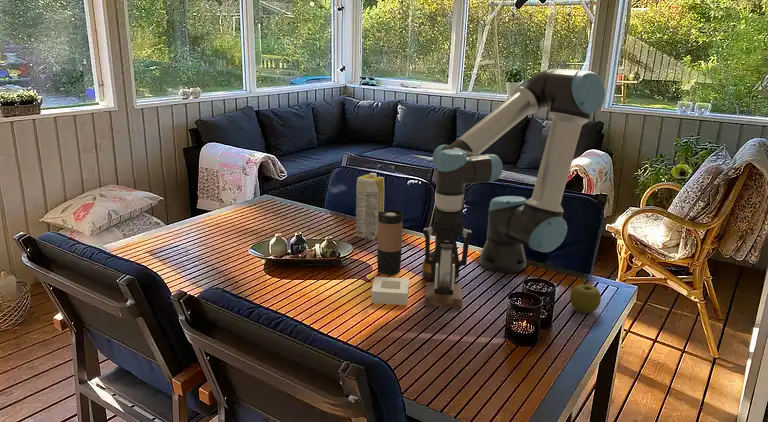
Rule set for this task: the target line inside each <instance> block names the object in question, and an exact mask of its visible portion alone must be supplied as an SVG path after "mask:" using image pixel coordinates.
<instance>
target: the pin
mask: <svg viewBox="0 0 768 422" xmlns="http://www.w3.org/2000/svg"><path fill="white" fill-rule="evenodd" d="M439 247H441V248H440V252H439V259H438V281H437V294H445V295H451V281H452V266H453V256H454V254H453V248H454V245H453V244H452V241H443V242H442V243H441V244H439Z"/></svg>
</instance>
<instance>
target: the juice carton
mask: <svg viewBox="0 0 768 422" xmlns="http://www.w3.org/2000/svg"><path fill="white" fill-rule="evenodd" d="M355 191H356V194H355V195H356V196H355V197H356V198H355V200H356V202H355V205H356V206H355V207H356V209H355V212H356V213H355V228H356V229H355V231H356V233H355V234H356V237H358V238H362V239H366V240H370V241H375V240H378V214H379V211H382V212H385V177H383V176H377V173H376V172H375V173H374V172H370V173H369V174H364V175H360V176H359V177H357V178H356V190H355Z"/></svg>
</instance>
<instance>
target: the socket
mask: <svg viewBox="0 0 768 422" xmlns="http://www.w3.org/2000/svg"><path fill="white" fill-rule="evenodd" d="M373 279H374V280H373V283H372V287H371V290H370V291H371V292H370V303H371V304H379V305H381V304H384V305H394V306H395V305H396V306H397V305H398V306H399V305H400V306H408V299H409V292H410V278H406V277H405V278H404V277H403V278H402V277H390V276H389V277H388V276H374V278H373Z"/></svg>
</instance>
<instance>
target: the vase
mask: <svg viewBox="0 0 768 422" xmlns="http://www.w3.org/2000/svg"><path fill="white" fill-rule="evenodd" d="M434 238H435V239H434V240H435V244H434V245H435V246H434V248H435V247H436V243H437V239H438V237H437V236H436V234H435V237H434ZM434 251H435V250H432V251H431V252H430V258H431V259H432V258H433V254H434ZM438 259H439V255H438ZM438 259H437V263H438ZM453 264H455V261H454V255H453ZM421 271H422V272H421V273H422V277H423V279H424V281H425V282H432V283H435V276H431V265H430V264H426V263H425V258H424V259H423V261H422V265H421ZM457 279H458V278H455V280H454V283H455V282H456V281H457Z"/></svg>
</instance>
